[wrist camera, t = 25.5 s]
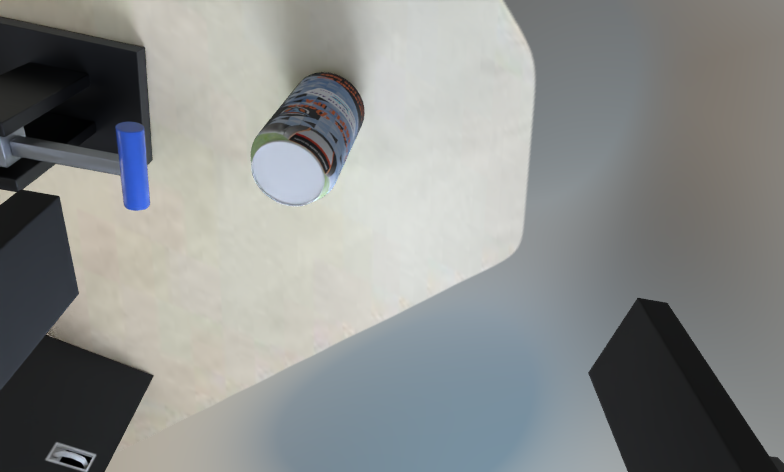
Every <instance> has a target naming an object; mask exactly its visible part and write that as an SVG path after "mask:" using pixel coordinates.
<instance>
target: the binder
mask: <svg viewBox="0 0 784 472" xmlns="http://www.w3.org/2000/svg"><path fill="white" fill-rule="evenodd" d="M152 378H153V375H151V374H148V373H145V372H143V371H140V370H137V369H135V368H132V367H129V366H127V365H124V364H121V363H119V362H116V361H113V360H111V359H108V358H105V357H103V356H100V355H97V354H95V353H92V352H89V351H87V350H84V349H81V348H79V347H76V346H73V345H71V344H68V343H65V342H63V341H60V340H57V339H55V338H52V337H49V336H46V335H45V336H44V337H43V338H42V340H41V341H40V342H39V343H38V345H37V346H36V347H35V348H34V350H33V351H32V352H31V353H30V355H29V356H28V357H27V358H26V360H25V361H24V362H23V363H22V364H21V366H20V367H19V368H18V369H17V371H16V372H15V373H14V374H13V376H12V377H11V378H10V379H9V381H8V382H7V383H6V384H5V385H4V387H3V388H2V389H1V390H0V472H105V470H106V468H107V466H108V464H109V462H110V460H111V458H112V456H113V454H114V452H115V450H116V448H117V446H118V445H119V443H120V441H121V439H122V437H123V435H124V433H125V431H126V429H127V427H128V425H129V423H130V421H131V419H132V417H133V415H134V413H135V411H136V409H137V407H138V405H139V403H140V401H141V399H142V397H143V395H144V393H145V391H146V390H147V388H148V386H149V384H150V382H151V380H152Z"/></svg>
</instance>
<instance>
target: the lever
mask: <svg viewBox="0 0 784 472" xmlns="http://www.w3.org/2000/svg"><path fill="white" fill-rule="evenodd" d="M115 129H116V138H117V147H118V154H115V153H110V152H104V151H99V150H94V149H88V148H83V147H78V146H72V145H67V144H62V143H56V142H51V141H46V140H40V139H35V138H30V137H26V135H25V130H24V126H23V127H22V128H20V129H18V130H17V131H15V132H13V133H12V134H10V135H8V136H7V137H0V167H6V168H8V167H9V166H11V165H12V164H13V163H15V162H16V161H18V160H19V159H21V158H28V159H33V160H38V161H44V162H49V163H55V164H60V165H66V166H71V167H77V168H82V169H88V170H93V171H98V172H104V173H109V174H115V175H120V176H121V184H122V193H123V202H124V206H125V207H126V208H127V209H130V210H143V209H146V208H148V207H149V205H150V196H149V182H148V169H147V156H146V142H145V129H144V126H143V125H142V124H140V123H136V122H121V123H118V124H117V125H116V126H115Z"/></svg>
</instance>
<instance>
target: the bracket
mask: <svg viewBox="0 0 784 472" xmlns="http://www.w3.org/2000/svg"><path fill="white" fill-rule="evenodd" d="M121 122H136V123H140V124H142V125H143V126H144V129H145V142H146V156H147V165H148V164H149V163H150V162H151V161H152V147H151V132H150V118H149V103H148V88H147V73H146V59H145V48H144V47H140V46H136V45H131V44H126V43H122V42H117V41H112V40H107V39H103V38H98V37H93V36H89V35H84V34H79V33H75V32H70V31H65V30H60V29H56V28H51V27H46V26H42V25H37V24H32V23H28V22H23V21H18V20H13V19H9V18H4V17H0V137H7V136H8V135H10V134H12V133H13V132H15V131H17V130H18V129H20V128H22V127H23V126H24V130H25V135H26V137H30V138H35V139H40V140H46V141H51V142H56V143H62V144H67V145H72V146H78V147H83V148H88V149H94V150H99V151H104V152H110V153H115V154H118V147H117V138H116V129H115V126H116V125H117V124H118V123H121ZM54 165H55V163H49V162H44V161H38V160H33V159H28V158H21V159H19V160H18V161H16V162H15V163H13V164H12V165H11V166H9V167H8V168H6V167H0V189H2V190H8V191H14V192H18V191H19V190H23V189H24V188H25V187H26V186H28V185H29V184H30V183H32V182H33V181H34V180H35V179H37V178H38V177H39V176H41V175H42V174H43V173H45V172H46V171H47V170H48V169H50V168H51V167H52V166H54Z"/></svg>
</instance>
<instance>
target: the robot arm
mask: <svg viewBox="0 0 784 472" xmlns="http://www.w3.org/2000/svg"><path fill="white" fill-rule="evenodd" d="M78 294H79V292H78V287H77V282H76V277H75V272H74V267H73V262H72V257H71V252H70V247H69V242H68V237H67V232H66V227H65V222H64V217H63V212H62V207H61V202H60V197H59V196H55V195H49V194H44V193H38V192H32V191H27V190H19V191H18V192H17V193H15V194H14V195H13V196H11V197H10V198H9V199H8V200H6V201H5V202H4V203H2V204H1V205H0V390H1V389H2V388H3V387H4V385H5V384H6V383H7V382H8V381H9V379H10V378H11V377H12V376H13V374H14V373H15V372H16V371H17V369H18V368H19V367H20V366H21V364H22V363H23V362H24V361H25V360H26V358H27V357H28V356H29V355H30V353H31V352H32V351H33V350H34V348H35V347H36V346H37V345H38V343H39V342H40V341H41V340H42V338H43V337H44V336H45V335H46V334H47V332H48V331H49V330H50V329H51V327H52V326H53V325H54V324H55V322H56V321H57V320H58V319H59V317H60V316H61V315H62V314H63V313H64V311H65V310H66V309H67V308H68V306H69V305H70V304H71V303H72V301H73V300H74V299H75V298H76V296H77V295H78ZM589 376H590V378H591V381H592V383H593V386H594V388H595V391H596V393H597V396H598V398H599V401H600V403H601V406H602V408H603V411H604V413H605V416H606V418H607V421H608V423H609V426H610V428H611V431H612V433H613V436H614V438H615V441H616V443H617V446H618V448H619V451H620V453H621V456H622V458H623V461H624V463H625V466H626V468H627V471H628V472H784V463H783V462H782V461H781V460H780V459H779V458H778V457H770V456H769V455H768V454H767V452H766V451H765V449H764V448H763V446H762V445H761V443H760V442H759V440H758V439H757V437H756V436H755V434H754V433H753V431H752V430H751V428H750V427H749V425H748V424H747V422H746V421H745V419H744V418H743V416H742V415H741V413H740V412H739V410H738V409H737V407H736V406H735V404H734V403H733V401H732V400H731V398H730V397H729V395H728V394H727V392H726V391H725V389H724V388H723V386H722V385H721V383H720V382H719V380H718V379H717V377H716V376H715V374H714V373H713V371H712V369H711V368H710V367H709V365H708V364H707V362H706V360H705V359H704V358H703V356H702V355H701V353H700V351H699V350H698V348H697V347H696V346H695V344H694V342H693V341H692V339H691V338H690V337H689V335H688V334H687V332H686V330H685V329H684V327H683V326H682V324H681V323H680V321H679V320H678V318H677V317H676V315H675V314H674V312H673V311H672V309H671V308H670V306H669V305H668V303H665V302H659V301H653V300H647V299H641V298H637V300H636V301H635V303H634V304H633V306H632V308H631V309H630V311H629V312H628V314H627V315H626V317H625V318H624V320H623V321H622V323H621V324H620V326H619V327H618V329H617V330H616V332H615V333H614V335H613V336H612V338H611V339H610V341H609V342H608V344H607V345H606V347H605V348H604V350H603V352H602V353H601V354H600V356H599V358H598V359H597V360H596V362H595V364H594V365H593V367H592V368H591V370H590V371H589Z"/></svg>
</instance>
